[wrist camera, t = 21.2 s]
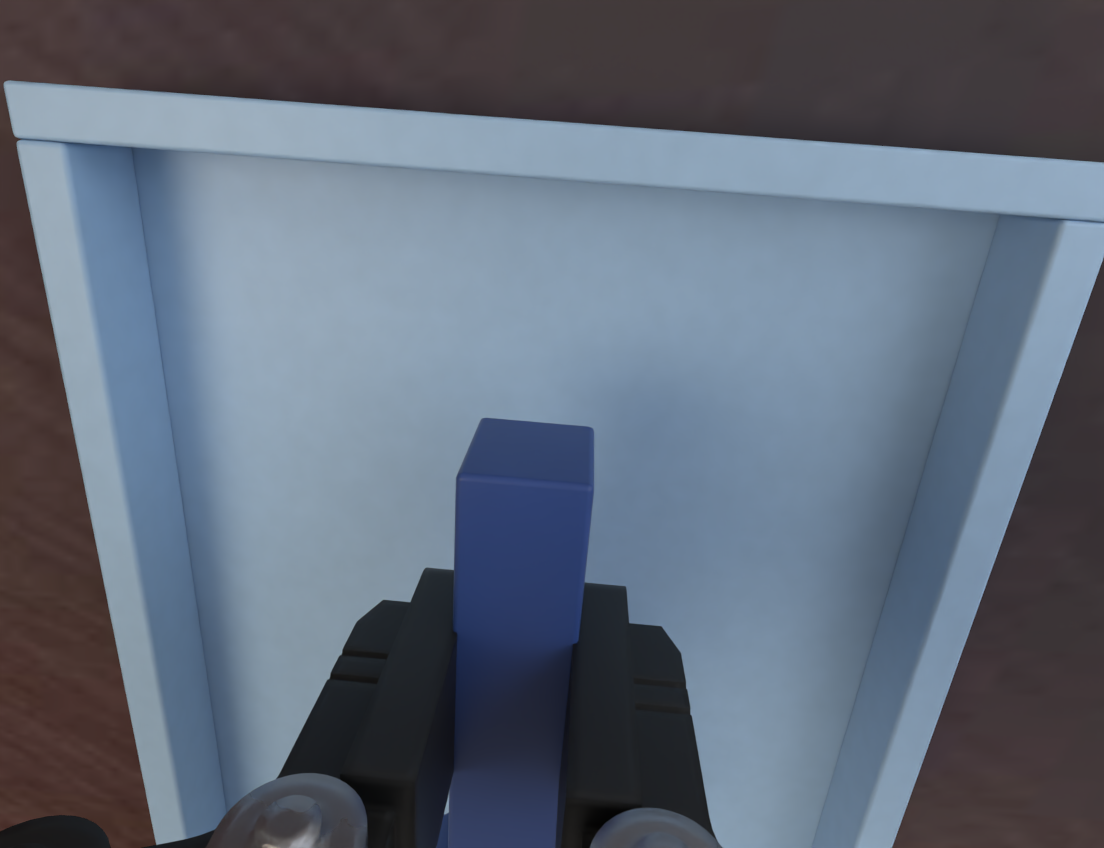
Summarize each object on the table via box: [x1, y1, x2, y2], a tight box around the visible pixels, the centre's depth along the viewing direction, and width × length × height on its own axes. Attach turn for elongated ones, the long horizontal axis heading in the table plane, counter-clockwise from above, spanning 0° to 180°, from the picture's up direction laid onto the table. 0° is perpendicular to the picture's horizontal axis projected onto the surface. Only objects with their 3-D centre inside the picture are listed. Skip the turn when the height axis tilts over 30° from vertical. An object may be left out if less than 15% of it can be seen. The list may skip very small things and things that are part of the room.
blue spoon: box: [436, 418, 594, 848], centre depth 10 cm, size 10×3×2 cm, turn 176°
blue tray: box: [4, 80, 1104, 848], centre depth 13 cm, size 17×14×2 cm
